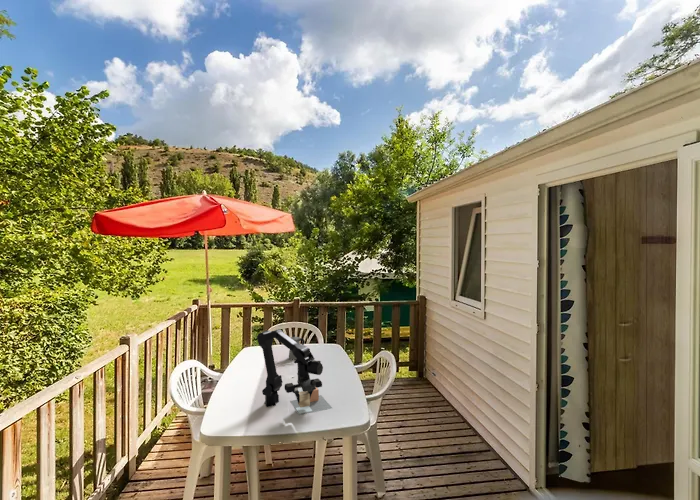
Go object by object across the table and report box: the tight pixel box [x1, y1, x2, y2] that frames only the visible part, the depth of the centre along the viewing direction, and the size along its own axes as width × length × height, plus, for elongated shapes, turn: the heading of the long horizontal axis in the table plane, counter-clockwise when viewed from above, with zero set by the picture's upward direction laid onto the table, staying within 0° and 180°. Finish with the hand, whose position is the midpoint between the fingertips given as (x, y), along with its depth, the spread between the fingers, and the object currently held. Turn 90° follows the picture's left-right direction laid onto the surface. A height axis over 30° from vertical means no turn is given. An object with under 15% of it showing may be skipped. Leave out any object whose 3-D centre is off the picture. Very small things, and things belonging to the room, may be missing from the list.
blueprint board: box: [290, 394, 333, 416], centre depth 198 cm, size 18×18×1 cm
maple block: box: [298, 390, 310, 407], centre depth 192 cm, size 5×5×6 cm
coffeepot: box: [288, 334, 306, 360], centre depth 280 cm, size 15×9×18 cm, turn 70°
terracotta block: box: [310, 387, 320, 402], centre depth 204 cm, size 5×5×6 cm
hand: (303, 401), depth 192 cm, fingers closed on maple block, 5 cm apart
